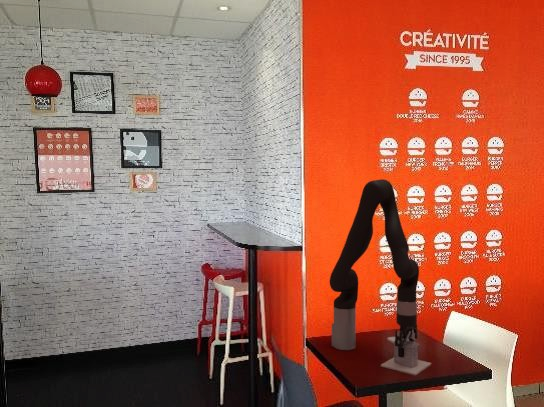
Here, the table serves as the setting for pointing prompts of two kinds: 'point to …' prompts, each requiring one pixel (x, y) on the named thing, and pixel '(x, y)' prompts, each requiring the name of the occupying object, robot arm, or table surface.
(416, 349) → the medicine box
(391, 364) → the mat
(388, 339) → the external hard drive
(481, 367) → the table surface
